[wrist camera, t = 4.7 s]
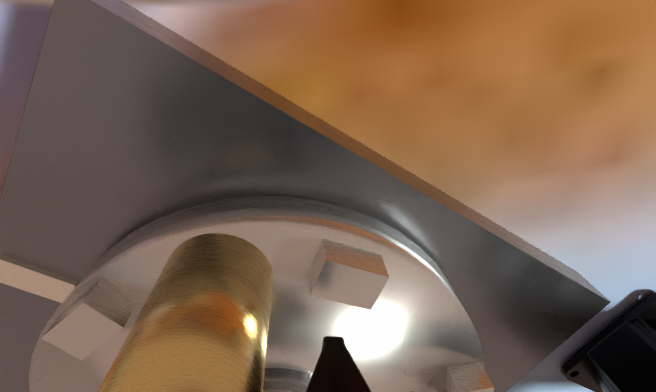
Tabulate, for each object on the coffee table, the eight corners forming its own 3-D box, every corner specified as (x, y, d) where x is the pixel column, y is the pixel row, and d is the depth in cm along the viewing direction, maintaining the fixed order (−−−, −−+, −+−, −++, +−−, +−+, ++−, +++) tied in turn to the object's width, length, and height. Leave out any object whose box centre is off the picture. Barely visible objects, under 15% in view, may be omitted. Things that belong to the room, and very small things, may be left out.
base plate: (577, 272, 17) (614, 305, 15) (356, 476, 24) (361, 517, 22) (99, -13, 11) (54, -20, 9) (-24, 377, 17) (-66, 424, 15)
